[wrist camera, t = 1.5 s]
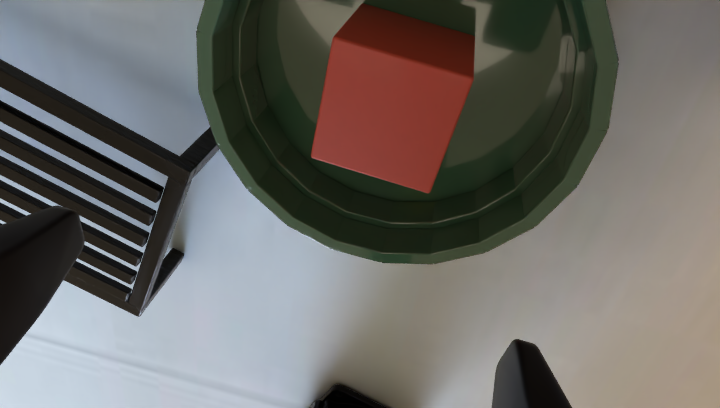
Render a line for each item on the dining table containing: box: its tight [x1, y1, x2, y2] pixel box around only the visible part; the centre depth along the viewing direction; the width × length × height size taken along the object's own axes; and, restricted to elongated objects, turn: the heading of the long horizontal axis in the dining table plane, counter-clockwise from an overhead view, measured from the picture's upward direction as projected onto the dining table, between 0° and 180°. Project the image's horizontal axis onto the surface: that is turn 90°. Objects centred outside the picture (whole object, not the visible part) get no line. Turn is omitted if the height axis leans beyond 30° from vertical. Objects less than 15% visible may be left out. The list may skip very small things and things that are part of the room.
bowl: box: [196, 0, 619, 264], centre depth 18 cm, size 14×14×4 cm
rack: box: [0, 59, 219, 317], centre depth 23 cm, size 14×11×5 cm
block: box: [311, 3, 475, 193], centre depth 18 cm, size 4×4×4 cm
